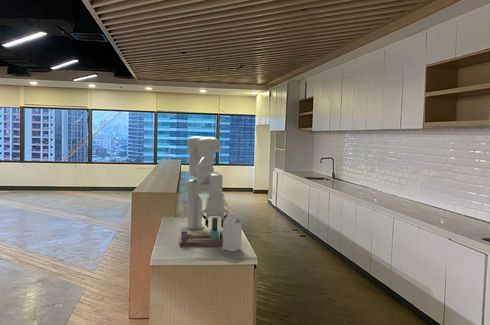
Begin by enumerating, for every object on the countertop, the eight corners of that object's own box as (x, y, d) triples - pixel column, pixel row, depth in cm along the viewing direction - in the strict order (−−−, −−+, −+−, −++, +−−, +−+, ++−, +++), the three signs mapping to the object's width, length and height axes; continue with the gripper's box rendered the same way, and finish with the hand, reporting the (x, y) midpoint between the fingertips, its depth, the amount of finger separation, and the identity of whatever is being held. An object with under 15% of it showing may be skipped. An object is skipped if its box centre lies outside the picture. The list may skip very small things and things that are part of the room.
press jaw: (210, 237, 252) (210, 217, 251) (217, 237, 253) (217, 217, 252) (211, 240, 245) (211, 219, 244) (218, 240, 246) (219, 219, 245)
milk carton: (231, 247, 242) (232, 212, 240) (241, 249, 237) (242, 214, 236) (222, 249, 236) (223, 214, 235) (232, 252, 232) (233, 216, 231)
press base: (179, 241, 252) (179, 227, 251) (222, 240, 256) (223, 226, 255) (179, 246, 240) (179, 231, 240) (225, 245, 244) (225, 231, 244)
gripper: (229, 195, 253) (229, 225, 254) (199, 194, 250) (198, 225, 251) (231, 196, 245) (230, 228, 246) (200, 196, 242) (199, 228, 243)
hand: (214, 226), depth 249 cm, fingers open, 7 cm apart
